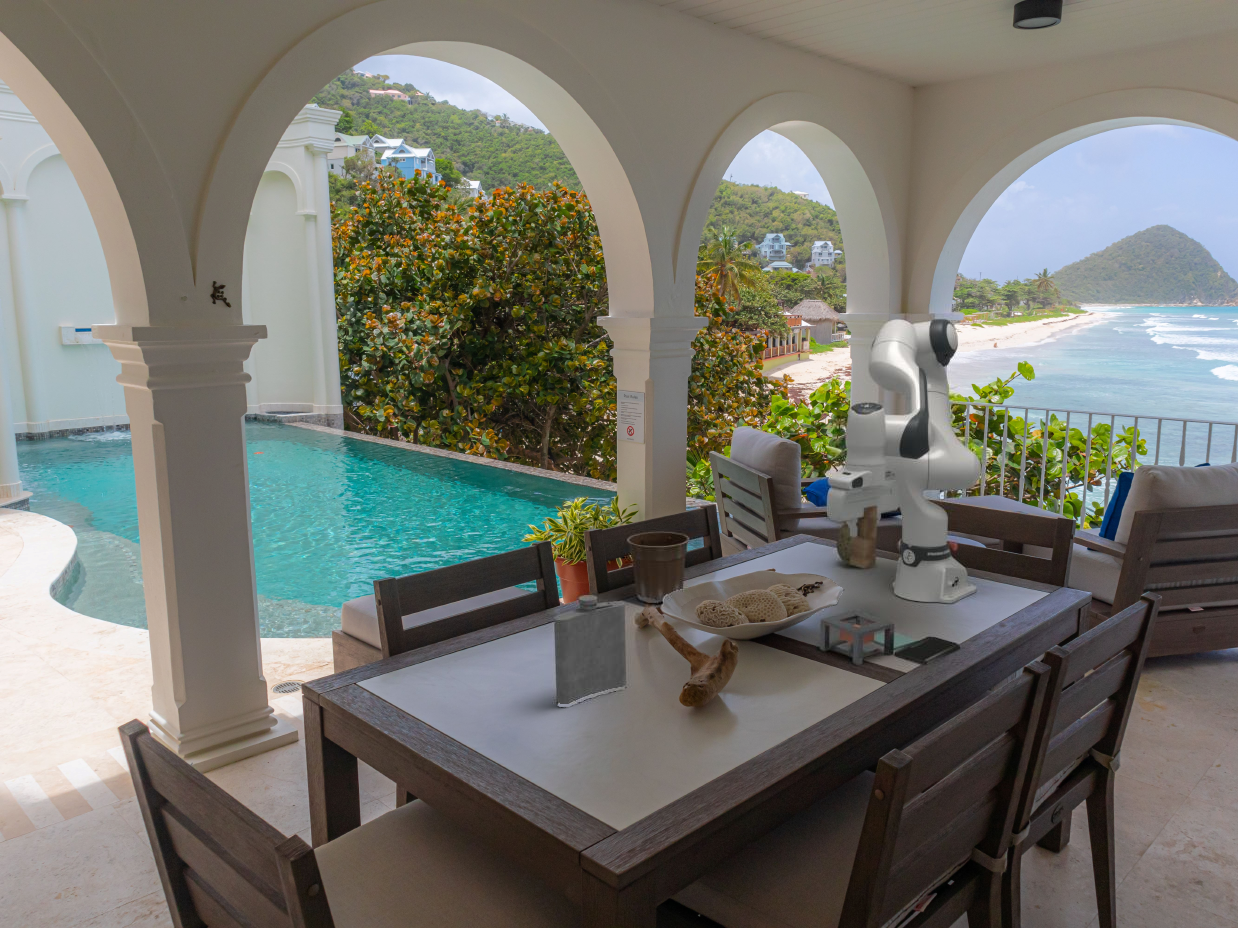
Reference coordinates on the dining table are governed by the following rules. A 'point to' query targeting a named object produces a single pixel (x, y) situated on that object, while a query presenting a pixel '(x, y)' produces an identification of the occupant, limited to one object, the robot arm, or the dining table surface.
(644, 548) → the plant pot
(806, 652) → the dining table surface
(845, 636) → the salmon pink panel
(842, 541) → the decorative egg
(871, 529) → the peg
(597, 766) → the dining table surface
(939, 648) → the phone
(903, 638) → the mat
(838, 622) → the frame
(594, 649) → the hip flask
